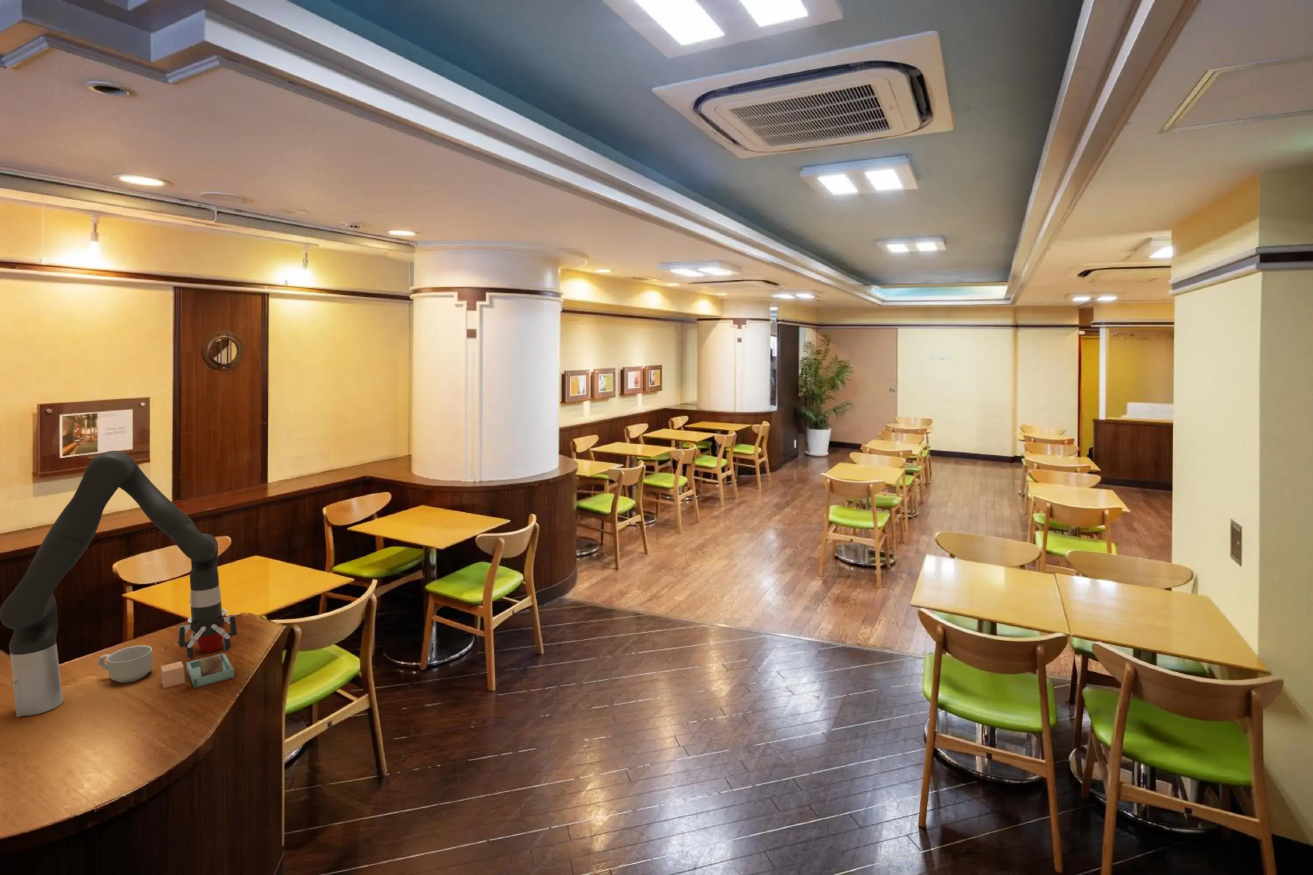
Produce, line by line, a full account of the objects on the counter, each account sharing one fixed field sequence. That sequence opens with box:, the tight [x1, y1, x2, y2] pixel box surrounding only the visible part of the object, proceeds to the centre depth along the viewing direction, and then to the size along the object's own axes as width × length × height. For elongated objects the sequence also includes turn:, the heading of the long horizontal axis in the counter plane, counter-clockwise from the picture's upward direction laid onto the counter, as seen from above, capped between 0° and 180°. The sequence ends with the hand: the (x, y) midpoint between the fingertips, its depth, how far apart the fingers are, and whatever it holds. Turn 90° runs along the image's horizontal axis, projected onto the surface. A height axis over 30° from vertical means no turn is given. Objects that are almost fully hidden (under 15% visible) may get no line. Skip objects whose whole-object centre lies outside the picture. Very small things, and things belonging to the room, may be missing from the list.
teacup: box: [97, 644, 154, 684], centre depth 198 cm, size 14×11×8 cm
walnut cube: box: [200, 654, 223, 677], centre depth 198 cm, size 5×5×5 cm
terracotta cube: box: [160, 661, 186, 689], centre depth 195 cm, size 5×5×5 cm
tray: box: [185, 652, 235, 689], centre depth 200 cm, size 10×15×2 cm, turn 42°
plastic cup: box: [187, 608, 227, 653], centre depth 217 cm, size 11×11×12 cm
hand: (209, 654), depth 197 cm, fingers open, 8 cm apart
